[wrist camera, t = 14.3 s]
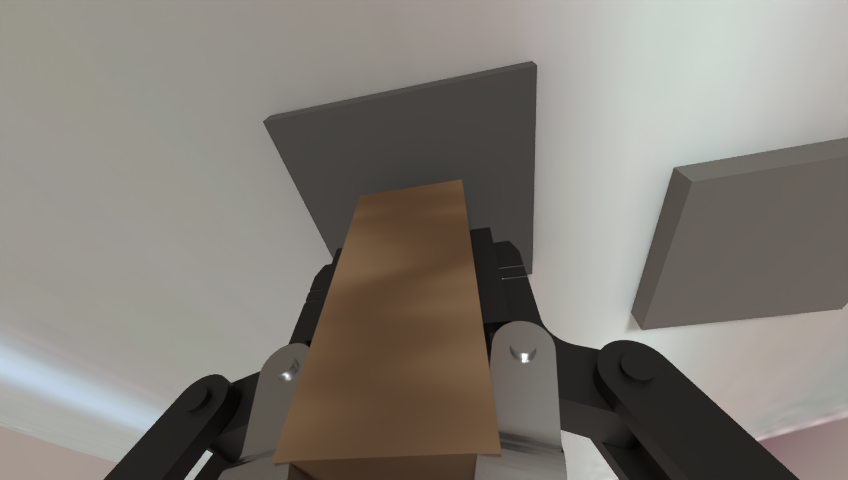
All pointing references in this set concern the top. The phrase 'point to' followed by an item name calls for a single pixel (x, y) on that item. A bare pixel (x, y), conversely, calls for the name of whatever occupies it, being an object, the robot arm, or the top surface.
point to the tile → (750, 239)
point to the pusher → (397, 350)
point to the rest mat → (421, 150)
